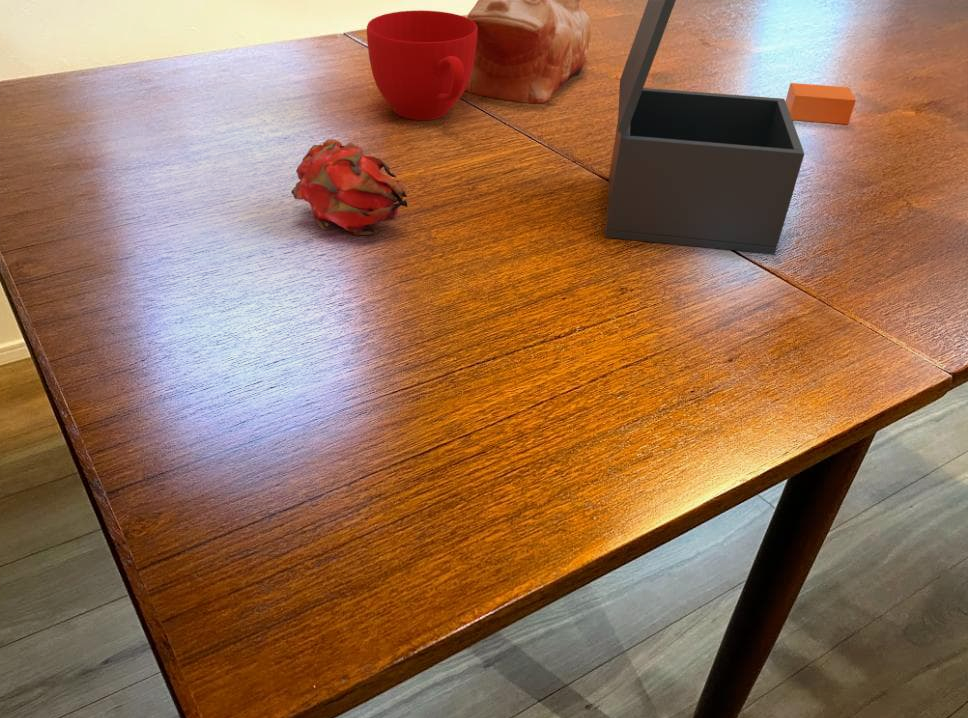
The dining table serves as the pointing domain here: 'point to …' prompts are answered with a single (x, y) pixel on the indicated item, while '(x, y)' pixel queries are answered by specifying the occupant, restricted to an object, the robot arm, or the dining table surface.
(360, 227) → the dragon fruit
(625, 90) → the box lid
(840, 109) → the packet
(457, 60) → the ceramic cup
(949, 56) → the dining table surface
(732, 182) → the storage bin
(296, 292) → the dining table surface
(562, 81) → the ceramic vessel
